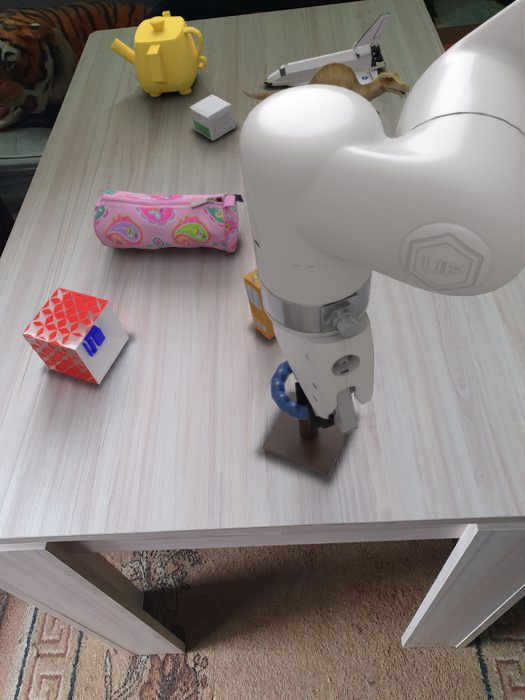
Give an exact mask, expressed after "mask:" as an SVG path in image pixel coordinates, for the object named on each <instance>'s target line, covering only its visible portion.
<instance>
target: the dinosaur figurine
mask: <svg viewBox="0 0 525 700" xmlns="http://www.w3.org/2000/svg"><path fill="white" fill-rule="evenodd" d="M311 84H325V85H333V86H339V87H343V88H346V89H348V90H351V91H353V92H355V93H357V94H359V95H360V96H362V97H364V98H365V99H366V100H368V101H369V102H370V103H371V101H372V100H375V99H377V98H378V97H381V96H382V95H384V94H385V93H392V94H394V95H397V96H399V97H400V98H401V99H404V98H406V97H407V93H408V92H409V91H410V85H409V84H408V83H406V82H403V81H402V79H401V78H400V76H399V74H398V73H397V72H394V71H393V72H392V71H391V72H388V73H387V72H382V73H380V74H378V77H376V78H375V80H373V81H372V82H369V83H367V84H363V85H362V84H360V82H359V81H358V78H356V74H355V72H354V71H353V69H352V68H351V67H350V66H348V65H347V64H343V63H338V62H333V63H329V64H326V65H324V66H322V68H320V69H319V70H318V71H317V73H315V75H314V76H313V78H312V79H311V80H310V82H309V83H308V84H307V85H311ZM282 90H283V89H278V90H270V91H249V90H246V89H242V90H241V92H242V93H243V95H245V96H247V97H249V98H251V99H255V100H259V101H263V100H264V99H266V98H267V97H269V96H271V95H272V94H275V93H277V92H279V91H282ZM375 110H376V111H377V113H378V115H379V116H380V114H381V113H380V111H378V109H376V108H375Z"/></svg>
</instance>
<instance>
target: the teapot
mask: <svg viewBox="0 0 525 700" xmlns="http://www.w3.org/2000/svg"><path fill="white" fill-rule="evenodd" d="M193 35H194V36H196V38H197V46H196V44H195V41H194V38H193ZM203 45H204V38H203V34H202V33H201V31H200V30H199V29H197V28H195V27H193V26H188V25H187V23H186V21H185V19H184V18H183V17H182V16H178V15H177V16H171V12H170V10H166V11H162V16H160V15H159V16H154V17H151V18H148V19H147V18H146V19H145V20H143V21H141V23H140V24H139V25H138V27H137V28H136V31H135V34H134V40H133V49H132V48H131V47H130V46H127V45H126V44H125V43H124V42H122V41H121V40H120V39H118V38H117V37H116V38H114V40H113V42H112V44H111V46H110V48H109V49H110V50H111V51H113V52H114V53H115V54H117V55H118V56H120V57H122V58H123V60H126V61H127V62H128V63H130V64H131V65H132V66H134V67H135V72H136V77H137V80H138V83H139V86H140V87H141V88H142V89H143V91H144V92H145V93H147V94H149V96H150V97H151V98H157V97H159V96H161V95H162V94H163V93H171V92H178V93H179V94H180V95H188V94H190V93H191V92H192V89H191V87H192V86H193V84H194V82H195V81H196V78H197V75H198V70H202V69H205V68H206V67H207V65H208V60H207V58H206V57H205V56H204V55H202V54H201V53H202V50H203ZM200 61H201V62H200Z"/></svg>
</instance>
